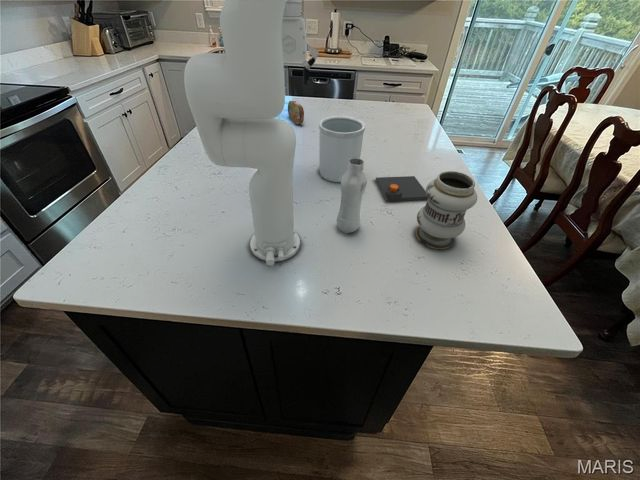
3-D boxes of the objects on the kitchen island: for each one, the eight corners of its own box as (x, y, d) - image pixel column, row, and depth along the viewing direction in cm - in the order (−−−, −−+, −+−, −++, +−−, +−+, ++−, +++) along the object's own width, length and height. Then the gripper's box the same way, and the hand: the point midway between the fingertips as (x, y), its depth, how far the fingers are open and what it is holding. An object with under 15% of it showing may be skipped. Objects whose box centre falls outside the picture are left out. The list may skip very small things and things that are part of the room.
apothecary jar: (403, 235, 80) (420, 177, 68) (425, 218, 87) (445, 161, 75) (443, 259, 74) (470, 199, 62) (464, 238, 81) (493, 180, 69)
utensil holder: (323, 185, 98) (326, 134, 86) (312, 165, 109) (313, 116, 97) (364, 181, 101) (372, 130, 90) (350, 161, 112) (355, 114, 100)
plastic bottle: (333, 232, 80) (339, 165, 67) (339, 218, 85) (346, 153, 72) (356, 238, 79) (367, 170, 66) (361, 223, 84) (372, 157, 70)
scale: (428, 200, 94) (431, 192, 92) (386, 202, 92) (387, 194, 90) (413, 179, 104) (415, 171, 102) (374, 181, 102) (375, 173, 100)
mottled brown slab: (287, 116, 146) (286, 98, 140) (293, 115, 147) (293, 97, 141) (298, 127, 136) (298, 108, 130) (305, 126, 137) (305, 107, 131)
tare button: (398, 192, 92) (399, 188, 91) (390, 192, 92) (391, 188, 91) (395, 188, 94) (396, 183, 93) (388, 188, 93) (389, 184, 92)
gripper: (253, 11, 72) (259, 87, 84) (322, 13, 75) (319, 86, 86) (253, 8, 78) (259, 80, 89) (317, 11, 81) (315, 80, 92)
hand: (288, 83), depth 88 cm, fingers open, 9 cm apart
